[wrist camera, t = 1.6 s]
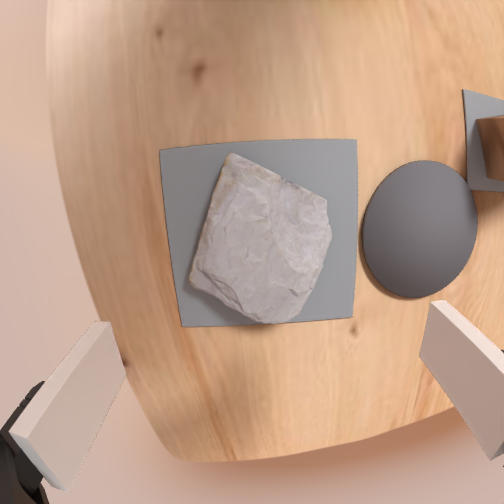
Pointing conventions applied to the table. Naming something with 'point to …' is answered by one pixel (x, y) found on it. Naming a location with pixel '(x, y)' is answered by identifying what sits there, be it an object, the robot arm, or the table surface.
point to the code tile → (289, 167)
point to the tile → (477, 109)
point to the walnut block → (492, 145)
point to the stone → (261, 242)
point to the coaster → (419, 228)
